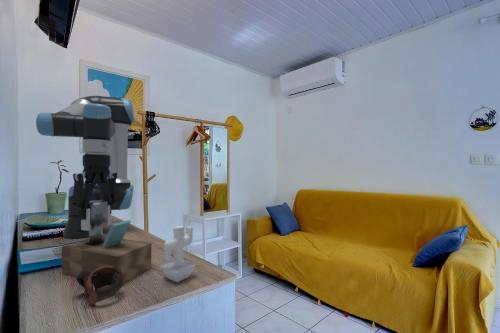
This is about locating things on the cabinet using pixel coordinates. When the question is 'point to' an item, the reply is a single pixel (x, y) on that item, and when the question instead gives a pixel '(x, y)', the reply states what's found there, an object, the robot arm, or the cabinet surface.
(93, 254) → the block
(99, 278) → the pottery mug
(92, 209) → the pin
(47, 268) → the cabinet surface
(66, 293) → the cabinet surface
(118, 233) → the latch
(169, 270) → the figurine
